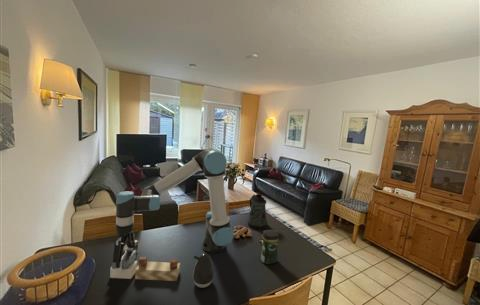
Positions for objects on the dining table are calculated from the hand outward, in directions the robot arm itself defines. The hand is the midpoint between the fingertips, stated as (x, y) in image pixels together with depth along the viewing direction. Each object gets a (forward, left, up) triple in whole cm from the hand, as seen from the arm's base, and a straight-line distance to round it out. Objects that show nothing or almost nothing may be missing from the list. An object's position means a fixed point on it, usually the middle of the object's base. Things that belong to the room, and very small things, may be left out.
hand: (124, 266), depth 103 cm
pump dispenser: (-40, +4, -4) cm, 40 cm away
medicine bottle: (+6, -16, -4) cm, 18 cm away
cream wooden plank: (-17, 0, -4) cm, 17 cm away
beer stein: (-73, -64, -4) cm, 97 cm away
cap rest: (0, 0, -4) cm, 4 cm away
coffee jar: (-76, -17, -4) cm, 78 cm away
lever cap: (0, 0, +2) cm, 2 cm away
